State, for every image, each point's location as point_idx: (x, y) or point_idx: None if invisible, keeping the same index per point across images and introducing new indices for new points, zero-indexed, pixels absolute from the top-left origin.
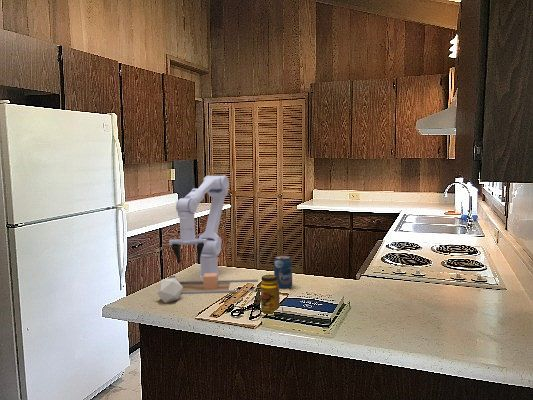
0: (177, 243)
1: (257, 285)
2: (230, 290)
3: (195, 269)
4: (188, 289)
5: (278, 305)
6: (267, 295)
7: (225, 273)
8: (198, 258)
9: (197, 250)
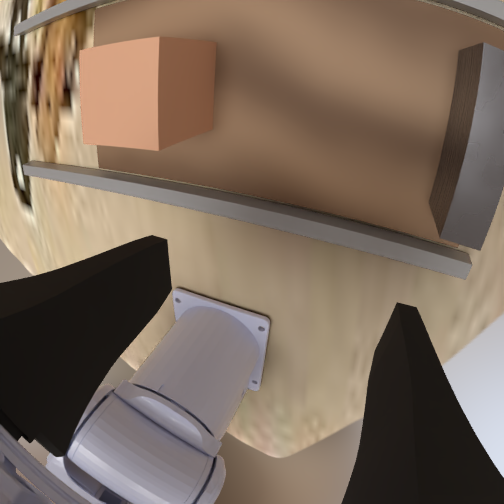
0: None
1: (28, 127)
2: (79, 1)
3: (290, 429)
4: (329, 58)
5: None
6: None
7: (160, 337)
8: (113, 251)
9: (17, 305)
